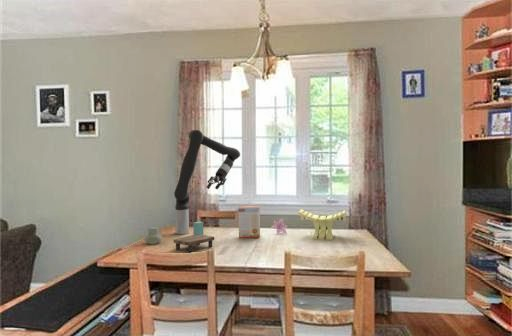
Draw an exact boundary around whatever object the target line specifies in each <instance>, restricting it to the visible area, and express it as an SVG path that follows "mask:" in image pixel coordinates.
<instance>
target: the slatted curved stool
mask: <svg viewBox="0 0 512 336" xmlns="http://www.w3.org/2000/svg"><path fill="white" fill-rule="evenodd" d="M297 213H298V214H297V215H298V217H300V221H304V220H309V221H311V222H312V223H313V225H314V233H313V235H312V237H311V240H330V241H332V240H333V237H334V235H333V224H334V223H335V222H337V221H343V222H347V210H346V209H344V210H343V211H340V212H338V213H335V214H331V215H330V214H329V215H319V214H313V213H312V212H309V211H307V210H306V211H305V210H304V209H303V208H300V209H299V210H298V212H297Z"/></svg>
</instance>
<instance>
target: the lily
mask: <svg viewBox="0 0 512 336" xmlns="http://www.w3.org/2000/svg"><path fill="white" fill-rule="evenodd" d="M273 223H274V224H273V225H272V226H271V227H270V228H271V229H274V230H276V234H277V235H279V234H280V233H283V234H286V235H287V234H288V233H287V230H286V228H288V225H286V224H284V219H283V218H280V219H279V220H278V221H277V220H273Z"/></svg>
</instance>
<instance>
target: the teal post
mask: <svg viewBox="0 0 512 336" xmlns="http://www.w3.org/2000/svg"><path fill="white" fill-rule="evenodd" d="M192 227H193V235H197V234H201V235H204V222H203V221H195V222H193V224H192Z"/></svg>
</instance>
